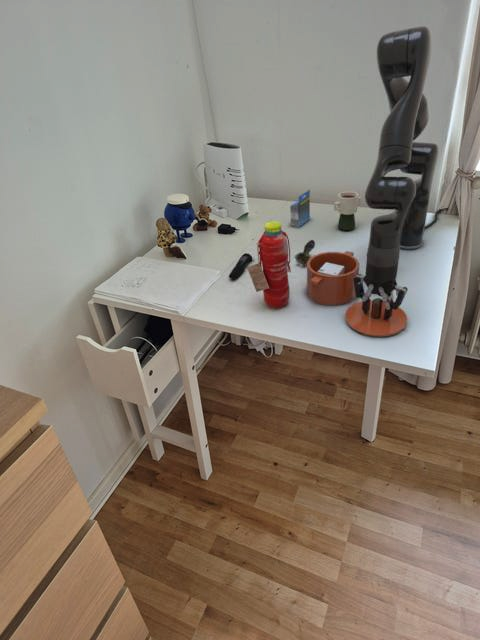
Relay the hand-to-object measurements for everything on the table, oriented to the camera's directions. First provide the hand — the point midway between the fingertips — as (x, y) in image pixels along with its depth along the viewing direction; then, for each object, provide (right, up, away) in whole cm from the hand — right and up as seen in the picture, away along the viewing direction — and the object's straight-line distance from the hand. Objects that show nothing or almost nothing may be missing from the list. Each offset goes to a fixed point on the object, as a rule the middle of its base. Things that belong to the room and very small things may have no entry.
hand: (376, 315), depth 117 cm
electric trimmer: (-36, +15, +30) cm, 49 cm away
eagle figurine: (-14, +18, +31) cm, 39 cm away
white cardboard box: (-9, +7, +14) cm, 18 cm away
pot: (-9, +7, +14) cm, 18 cm away
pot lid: (0, -1, +1) cm, 1 cm away
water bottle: (-27, +3, +12) cm, 29 cm away
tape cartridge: (-13, +37, +56) cm, 68 cm away
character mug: (+4, +33, +48) cm, 59 cm away
